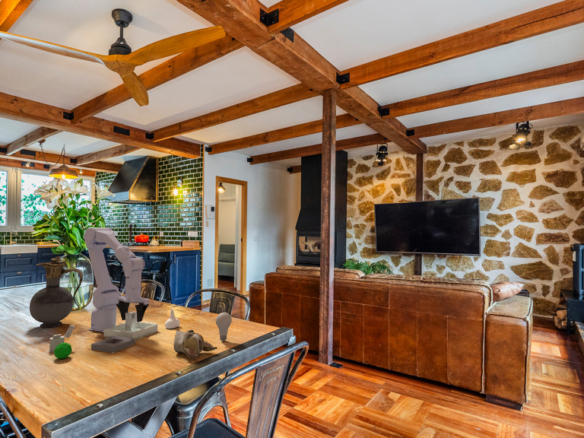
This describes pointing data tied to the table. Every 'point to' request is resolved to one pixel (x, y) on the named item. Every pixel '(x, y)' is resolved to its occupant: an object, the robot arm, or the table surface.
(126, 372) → the table surface
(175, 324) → the garlic bulb
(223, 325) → the lightbulb
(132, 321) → the pin
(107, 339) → the collar
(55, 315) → the pitcher
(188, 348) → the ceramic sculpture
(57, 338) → the lighter
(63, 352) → the polyhedron
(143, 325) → the tray
